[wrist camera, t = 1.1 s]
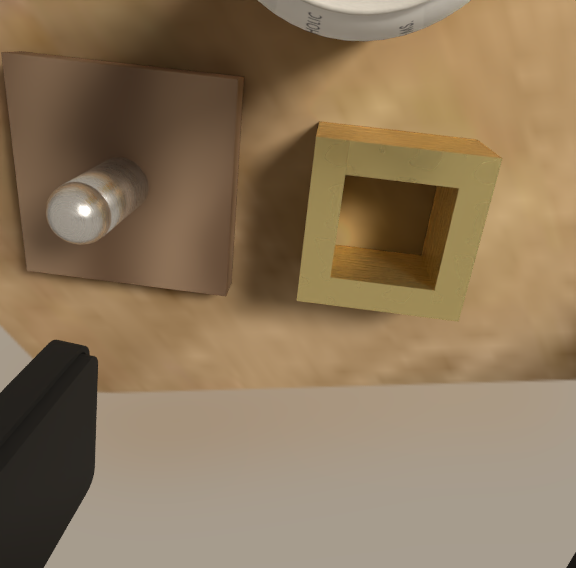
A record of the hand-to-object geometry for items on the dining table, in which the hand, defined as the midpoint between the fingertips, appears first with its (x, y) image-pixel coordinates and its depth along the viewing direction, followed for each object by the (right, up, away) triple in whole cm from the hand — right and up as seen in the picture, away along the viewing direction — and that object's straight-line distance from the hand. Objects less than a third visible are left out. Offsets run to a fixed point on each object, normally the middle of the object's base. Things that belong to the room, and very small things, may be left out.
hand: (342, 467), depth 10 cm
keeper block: (-8, +8, +16) cm, 20 cm away
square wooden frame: (+4, +7, +16) cm, 18 cm away
